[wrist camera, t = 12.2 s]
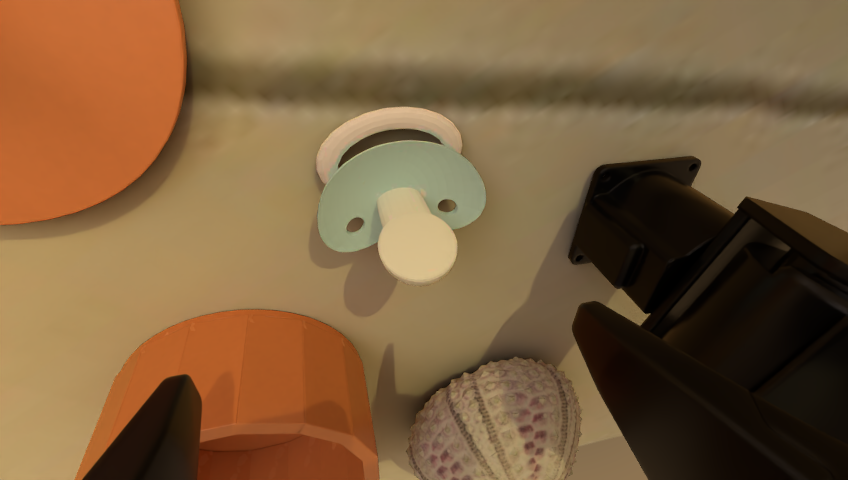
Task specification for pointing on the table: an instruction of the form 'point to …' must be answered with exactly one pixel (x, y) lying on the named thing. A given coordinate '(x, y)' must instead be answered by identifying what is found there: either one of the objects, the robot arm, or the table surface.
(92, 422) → the table surface
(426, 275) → the pacifier
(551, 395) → the sea urchin shell
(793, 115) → the table surface
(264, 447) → the pot
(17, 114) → the lid
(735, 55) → the table surface
